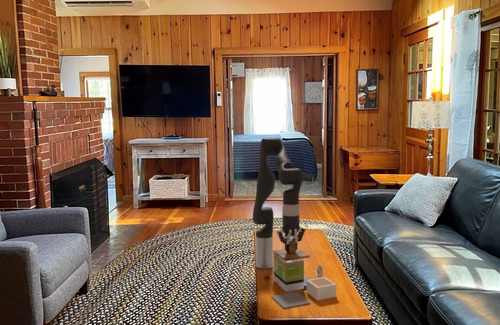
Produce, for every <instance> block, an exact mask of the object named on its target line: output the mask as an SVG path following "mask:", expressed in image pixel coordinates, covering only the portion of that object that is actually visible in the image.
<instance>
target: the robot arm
mask: <svg viewBox="0 0 500 325" xmlns="http://www.w3.org/2000/svg"><path fill="white" fill-rule="evenodd" d="M268 157H276V158H275V159H274V160H275V161H274V165H275V167H276V169H277V171H278V180H279V183H280V184H281V185H284V186H291V185H292V186H291V188H289V189H286V190H284V191H283V192H282V208H281V209H282V210H281V212H282V214H281V215H282V226H281V229H279V230H276V234H277V236H278V239H279V241H280V242H281V243H282V244H284V249H285V251H286V252H289V240H290V239H294V240H296V250H297V248H298V243H299V242H302V239H303V237H304V235H305V232H306V228H305V227H302V226H300V213H301V211H300V191H301V186H302V184H303V180H304V173H303V171H302V170H301V169H300V168H295V167H294V165H293V162H292V161H291V160H290V158H289V157H288V152H287V151H286V147H285V144H284V142H283V140H282V139H281V138H280V137H263V138H261V141H260V146H259V164H258V174H257V182H256V191H255V192H256V193H255V200H254V205H253V206H254V207H253V211H252V221H253V223H254V224H255V225H260V226H261V225H264V226H262V227H261V228H259V229H257V230H256V231H255V266H256V267H255V268H258V269H259V270H261V269H262V270H268V269H272V268H274V258H273V257H274V253H273V251H274V247H273V245H274V241H273V240H274V238H273V237H274V236H273V234H274V233H273V232H274V210H273V208H272V206H271V207H270V206H263V205H264V204H265V202H266V200H268V198H270V197H271V195H272V193H274V192H273V191H274V189H275V184H276V176H275V174H274V171H272V168H271V167H270V165H269V163H268ZM291 237H292V238H291Z"/></svg>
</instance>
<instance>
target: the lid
mask: <svg viewBox="0 0 500 325" xmlns="http://www.w3.org/2000/svg"><path fill="white" fill-rule="evenodd" d="M274 254H275V255H277V256H278V257H280V258H281V259H283V260H284V261H290V260H297V259H302V260H304V259H308V258H310V254H309V253H306V252H305V251H303V250H301V249H300V248H298V247H297V250H296V240H294V239H293V238H290V240H289V252H286V251H285V248H284V249H278V250H273V255H274Z"/></svg>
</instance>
